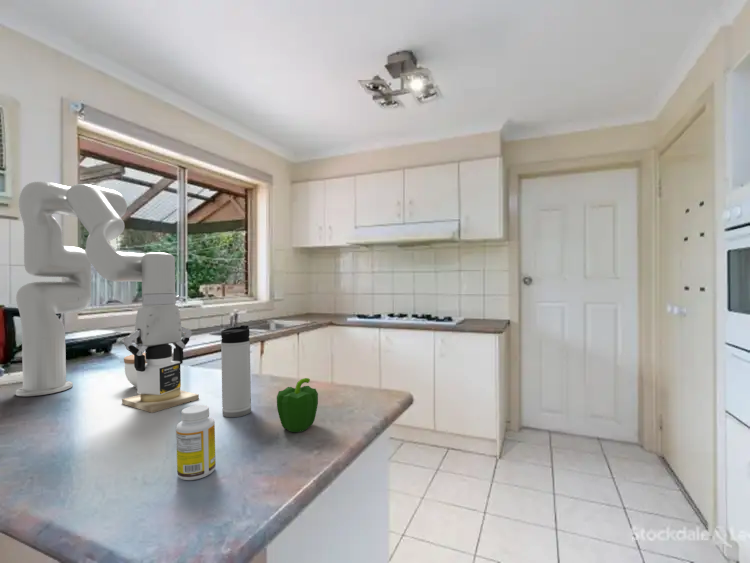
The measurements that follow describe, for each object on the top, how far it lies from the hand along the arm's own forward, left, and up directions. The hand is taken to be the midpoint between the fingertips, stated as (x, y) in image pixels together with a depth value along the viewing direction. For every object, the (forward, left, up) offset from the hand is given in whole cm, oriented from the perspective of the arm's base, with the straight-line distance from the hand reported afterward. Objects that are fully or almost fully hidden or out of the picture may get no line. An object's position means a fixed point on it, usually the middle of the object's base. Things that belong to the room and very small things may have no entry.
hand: (160, 366), depth 99 cm
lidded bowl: (-19, +7, -9) cm, 22 cm away
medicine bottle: (0, 0, -6) cm, 6 cm away
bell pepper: (+44, +4, -9) cm, 45 cm away
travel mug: (+25, +4, -9) cm, 27 cm away
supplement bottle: (+43, -18, -9) cm, 48 cm away
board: (0, 0, -9) cm, 9 cm away
